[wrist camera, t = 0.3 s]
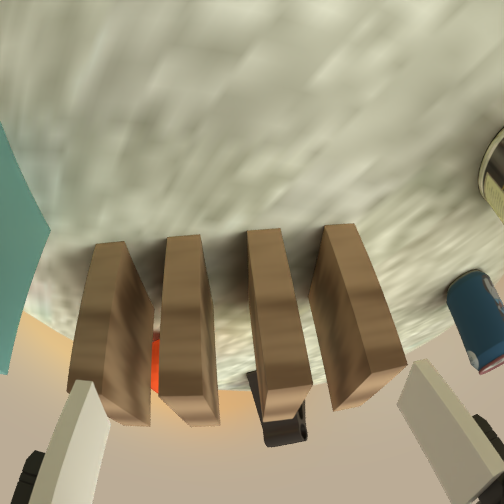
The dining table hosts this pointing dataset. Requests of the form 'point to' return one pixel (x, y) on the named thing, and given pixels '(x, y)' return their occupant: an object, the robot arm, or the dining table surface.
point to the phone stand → (279, 421)
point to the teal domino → (16, 247)
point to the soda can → (478, 319)
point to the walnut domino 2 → (188, 335)
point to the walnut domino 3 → (276, 328)
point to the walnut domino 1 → (115, 336)
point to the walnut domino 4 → (352, 320)
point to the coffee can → (493, 175)
